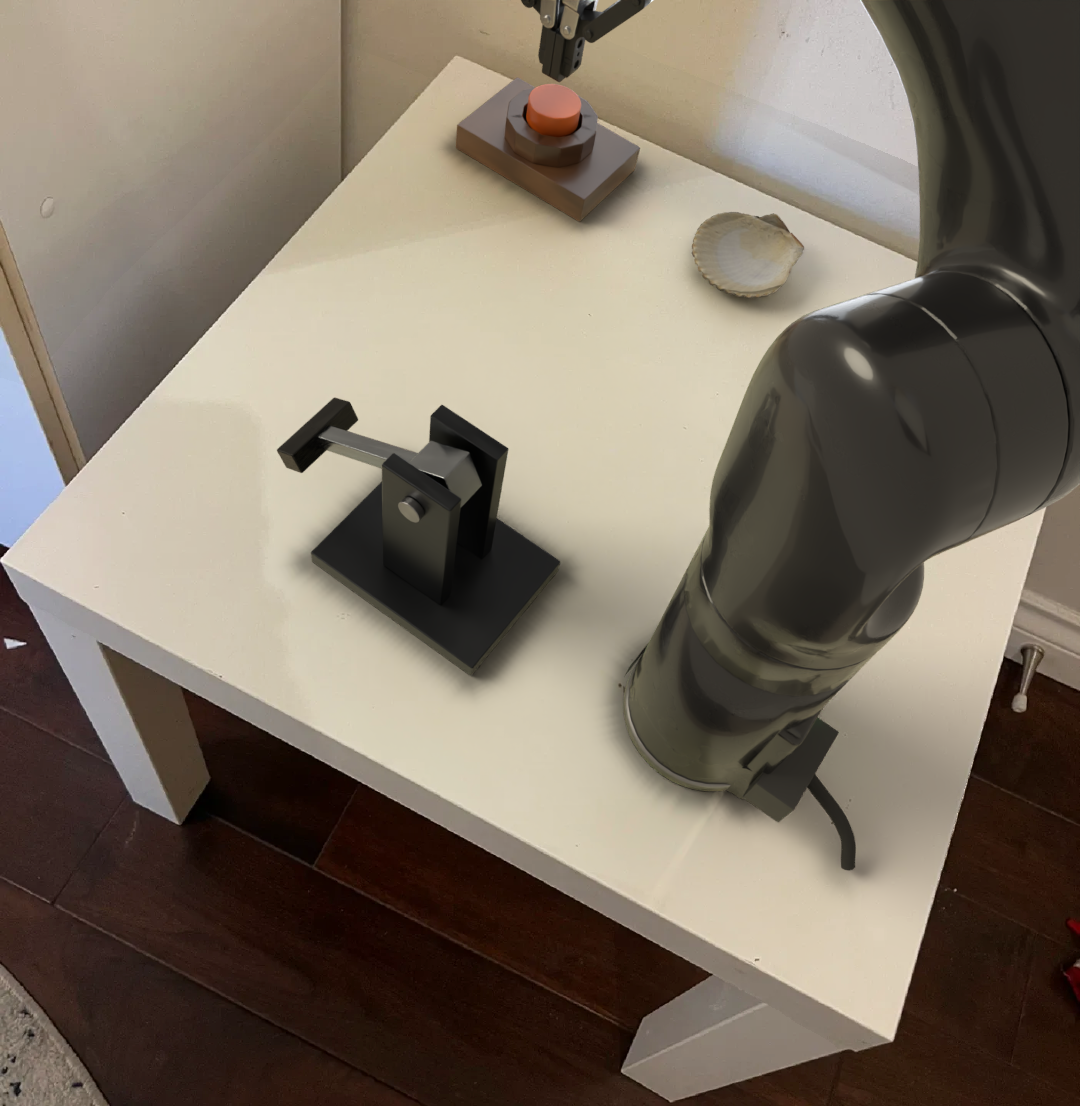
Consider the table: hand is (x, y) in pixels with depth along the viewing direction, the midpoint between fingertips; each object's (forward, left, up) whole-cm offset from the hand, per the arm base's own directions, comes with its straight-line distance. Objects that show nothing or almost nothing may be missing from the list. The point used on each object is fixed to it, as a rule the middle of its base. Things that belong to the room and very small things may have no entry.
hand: (557, 73), depth 76 cm
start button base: (0, 0, -8) cm, 8 cm away
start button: (0, 0, -4) cm, 4 cm away
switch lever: (-12, +35, -1) cm, 37 cm away
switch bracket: (-16, +35, -8) cm, 39 cm away
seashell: (-18, 0, -8) cm, 20 cm away
